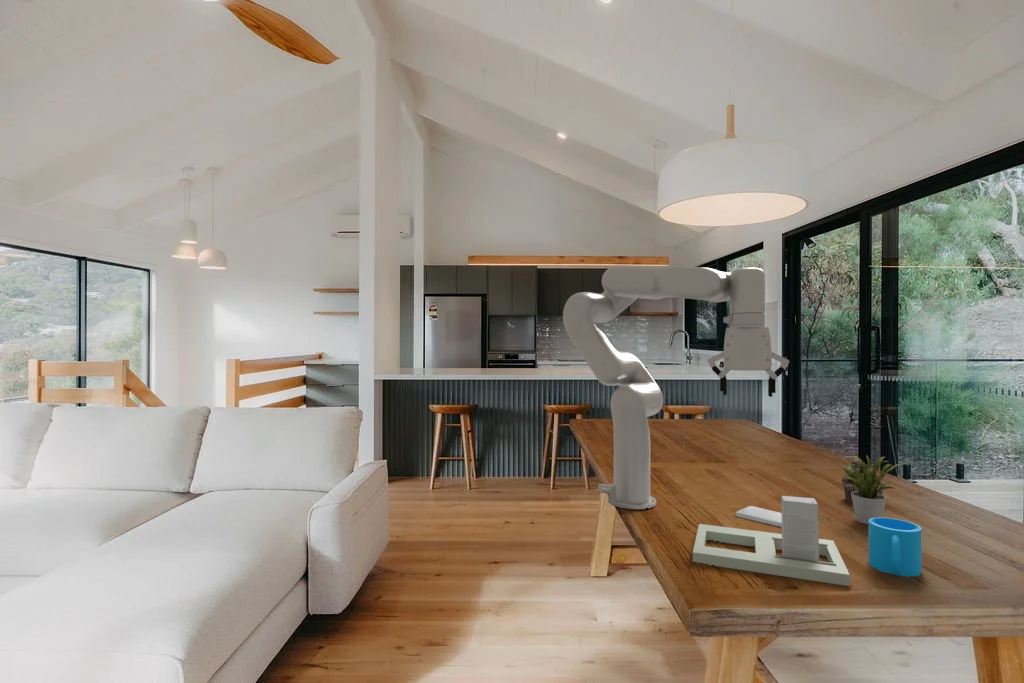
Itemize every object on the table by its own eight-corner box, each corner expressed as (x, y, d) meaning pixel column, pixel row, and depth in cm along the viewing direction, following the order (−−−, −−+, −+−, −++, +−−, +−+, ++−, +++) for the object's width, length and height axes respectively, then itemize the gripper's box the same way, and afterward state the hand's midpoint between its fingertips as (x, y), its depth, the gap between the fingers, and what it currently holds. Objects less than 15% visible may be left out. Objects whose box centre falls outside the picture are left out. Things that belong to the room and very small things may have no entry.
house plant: (903, 517, 132) (903, 450, 132) (918, 535, 120) (918, 461, 120) (836, 509, 138) (835, 445, 138) (843, 525, 126) (843, 455, 126)
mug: (868, 555, 108) (868, 514, 108) (919, 565, 103) (919, 522, 103) (868, 577, 98) (868, 532, 98) (925, 588, 93) (925, 541, 93)
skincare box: (815, 559, 106) (815, 498, 106) (819, 567, 102) (819, 504, 102) (780, 554, 108) (780, 494, 108) (783, 562, 104) (783, 500, 104)
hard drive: (735, 511, 133) (788, 524, 123) (751, 505, 138) (802, 516, 129) (735, 518, 133) (788, 531, 123) (751, 511, 138) (802, 523, 129)
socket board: (692, 562, 104) (692, 551, 104) (699, 532, 121) (699, 522, 121) (849, 586, 94) (849, 573, 94) (833, 550, 110) (833, 539, 110)
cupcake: (888, 507, 140) (888, 469, 140) (845, 503, 143) (845, 465, 143) (879, 498, 149) (878, 461, 149) (838, 494, 152) (838, 459, 152)
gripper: (706, 321, 125) (706, 395, 125) (790, 320, 119) (790, 398, 118) (708, 322, 132) (708, 392, 132) (787, 321, 125) (787, 395, 125)
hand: (747, 395), depth 125 cm, fingers open, 9 cm apart
